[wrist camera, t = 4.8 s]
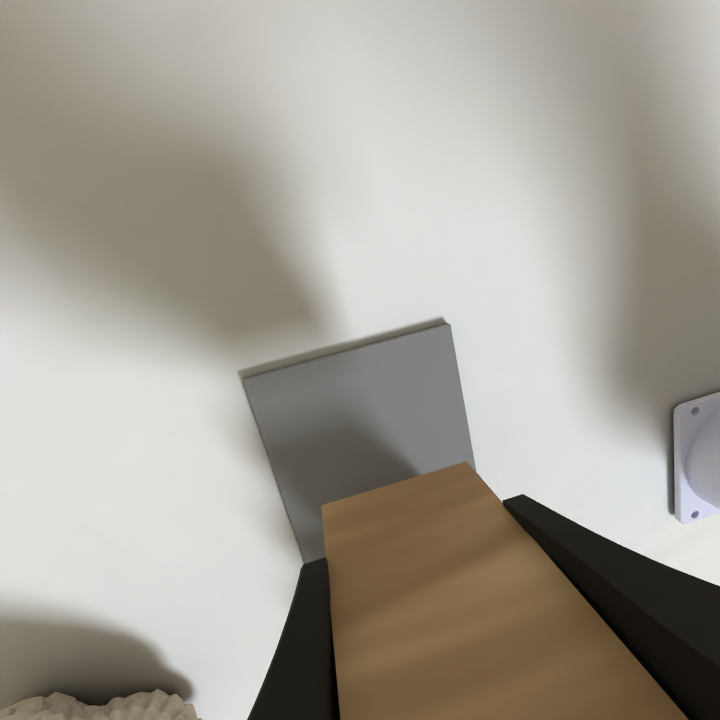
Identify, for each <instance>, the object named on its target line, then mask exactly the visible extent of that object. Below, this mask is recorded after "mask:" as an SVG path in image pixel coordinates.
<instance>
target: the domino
mask: <svg viewBox="0 0 720 720" xmlns="http://www.w3.org/2000/svg"><path fill="white" fill-rule="evenodd" d="M321 509H322V520H323V531H324V542H325V553H326V558H327V562H328V572H329V582H330V593H331V600H330V609H331V620H332V631H333V642H334V653H335V664H336V675H337V686H338V697H339V708H340V719H341V720H689V719H688V718H687V717H686V716H685V715H684V714H683V712H682V711H681V710H680V709H679V708H678V707H677V705H676V704H675V703H674V702H673V701H672V700H671V698H670V697H669V696H668V695H667V694H666V693H665V692H664V690H663V689H662V688H661V687H660V686H659V685H658V683H657V682H656V681H655V680H654V679H653V678H652V676H651V675H650V674H649V673H648V672H647V671H646V669H645V668H644V667H643V666H642V665H641V664H640V662H639V661H638V660H637V659H636V658H635V657H634V655H633V654H632V653H631V652H630V651H629V650H628V648H627V647H626V646H625V645H624V644H623V643H622V641H621V640H620V639H619V638H618V637H617V636H616V634H615V633H614V632H613V631H612V630H611V629H610V628H609V626H608V625H607V624H606V623H605V622H604V621H603V619H602V618H601V617H600V616H599V615H598V614H597V612H596V611H595V610H594V609H593V608H592V607H591V605H590V604H589V603H588V602H587V601H586V600H585V598H584V597H583V596H582V595H581V594H580V593H579V591H578V590H577V589H576V588H575V587H574V586H573V584H572V583H571V582H570V581H569V580H568V579H567V577H566V576H565V575H564V574H563V573H562V572H561V570H560V569H559V568H558V567H557V566H556V565H555V563H554V562H553V561H552V560H551V559H550V558H549V557H548V555H547V554H546V553H545V552H544V551H543V550H542V548H541V547H540V546H539V545H538V544H537V543H536V541H535V540H534V539H533V538H532V537H531V536H530V535H529V534H528V533H527V532H526V531H525V530H524V529H523V528H522V527H521V526H520V525H519V523H518V522H517V521H516V520H515V519H514V518H513V516H512V515H511V514H510V513H509V512H508V511H507V509H506V508H505V507H504V506H503V503H502V502H501V501H500V499H499V498H498V497H497V496H496V495H495V494H494V493H493V491H492V490H491V489H490V488H489V487H488V486H487V484H486V483H485V482H484V481H483V480H482V479H481V477H480V476H479V475H478V474H477V473H476V472H475V470H474V469H473V468H472V467H471V466H470V465H469V463H468V462H467V461H465V462H462V463H459V464H456V465H452V466H449V467H446V468H442V469H439V470H436V471H433V472H429V473H426V474H423V475H420V476H416V477H413V478H410V479H407V480H403V481H400V482H397V483H393V484H390V485H387V486H384V487H380V488H377V489H374V490H371V491H367V492H364V493H361V494H357V495H354V496H351V497H348V498H344V499H341V500H338V501H335V502H331V503H328V504H325V505H322V506H321Z"/></svg>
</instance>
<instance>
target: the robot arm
mask: <svg viewBox="0 0 720 720" xmlns="http://www.w3.org/2000/svg"><path fill="white" fill-rule="evenodd" d="M674 483H675V518H676V519H677V520H678V521H679V522H681V523H683V524H686V523H690V522H693V521H696V520H699V519H702V518H705V517H708V516H711V515H714V514H717V513H719V512H720V392H717V393H714V394H711V395H707V396H704V397H701V398H698V399H694V400H691V401H688V402H685V403H681V404H679V405H678V406H677V407H676V408H675V410H674ZM503 506H504V507H505V508H506V509H507V511H508V512H509V513H510V514H511V515H512V516H513V518H514V519H515V520H516V521H517V522H518V523H519V525H520V526H521V527H522V528H523V529H524V530H525V531H526V532H527V533H528V534H529V535H530V536H531V537H532V538H533V539H534V540H535V541H536V543H537V544H538V545H539V546H540V547H541V548H542V550H543V551H544V552H545V553H546V554H547V555H548V557H549V558H550V559H551V560H552V561H553V562H554V563H555V565H556V566H557V567H558V568H559V569H560V570H561V572H562V573H563V574H564V575H565V576H566V577H567V579H568V580H569V581H570V582H571V583H572V584H573V586H574V587H575V588H576V589H577V590H578V591H579V593H580V594H581V595H582V596H583V597H584V598H585V600H586V601H587V602H588V603H589V604H590V605H591V607H592V608H593V609H594V610H595V611H596V612H597V614H598V615H599V616H600V617H601V618H602V619H603V621H604V622H605V623H606V624H607V625H608V626H609V628H610V629H611V630H612V631H613V632H614V633H615V634H616V636H617V637H618V638H619V639H620V640H621V641H622V643H623V644H624V645H625V646H626V647H627V648H628V650H629V651H630V652H631V653H632V654H633V655H634V657H635V658H636V659H637V660H638V661H639V662H640V664H641V665H642V666H643V667H644V668H645V669H646V671H647V672H648V673H649V674H650V675H651V676H652V678H653V679H654V680H655V681H656V682H657V683H658V685H659V686H660V687H661V688H662V689H663V690H664V692H665V693H666V694H667V695H668V696H669V697H670V698H671V700H672V701H673V702H674V703H675V704H676V705H677V707H678V708H679V709H680V710H681V711H682V712H683V714H684V715H685V716H686V717H687V718H688V719H689V720H720V586H718V585H715V584H712V583H709V582H707V581H704V580H702V579H699V578H696V577H694V576H691V575H689V574H686V573H684V572H681V571H678V570H676V569H673V568H671V567H668V566H666V565H664V564H661V563H659V562H656V561H654V560H652V559H650V558H647V557H645V556H643V555H641V554H639V553H636V552H634V551H632V550H630V549H628V548H625V547H623V546H621V545H619V544H617V543H615V542H613V541H611V540H609V539H607V538H604V537H602V536H600V535H598V534H596V533H594V532H593V531H591V530H589V529H587V528H585V527H583V526H581V525H579V524H577V523H575V522H573V521H571V520H570V519H568V518H566V517H564V516H562V515H560V514H558V513H557V512H555V511H553V510H551V509H549V508H547V507H546V506H544V505H542V504H540V503H538V502H536V501H535V500H533V499H531V498H529V497H527V496H525V495H523V494H522V495H519V496H516V497H512V498H509V499H506V500H503ZM330 600H331V593H330V582H329V572H328V562H327V558H326V557H324V558H321V559H318V560H315V561H312V562H309V563H306V564H304V565H303V566H302V568H301V571H300V575H299V579H298V583H297V587H296V590H295V594H294V597H293V601H292V604H291V607H290V610H289V614H288V617H287V620H286V623H285V626H284V629H283V631H282V634H281V637H280V640H279V643H278V646H277V649H276V651H275V654H274V657H273V659H272V662H271V664H270V667H269V669H268V672H267V674H266V677H265V679H264V682H263V684H262V687H261V689H260V692H259V694H258V696H257V699H256V701H255V703H254V706H253V708H252V710H251V712H250V715H249V717H248V719H247V720H341V719H340V708H339V697H338V686H337V675H336V664H335V653H334V642H333V631H332V620H331V609H330Z"/></svg>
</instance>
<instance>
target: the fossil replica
mask: <svg viewBox="0 0 720 720" xmlns="http://www.w3.org/2000/svg"><path fill="white" fill-rule="evenodd" d="M0 720H202V719H200V718H197V716H196V712H195V709H194V706H193V704H184V701H183V699H182V698H180V697H179V696H178V695H177V694H173V695H170V696H169V695H168V694H167V693H165V692H163V691H161V690H159V689H156V690H155V691H153V692H151V693H148V692H138V693H135V694H132V695H129V696H127V697H126V698H124V697H114V698H113V699H112V700H111V701H110V702H109V703H108V704H107V705H102V706H96V705H86V704H84V703H83V702H81V701H77V699H76V698H75V697H72V696H69V695H65V694H62V693H58V692H54V693H53V694H51V695H50V696H48V697H47V698H46V697H42V696H35V697H31V698H26V699H24V700H21V701H19V702H17V703H15V704H12V705H10V706H8V707H5V708H3V709H1V710H0Z"/></svg>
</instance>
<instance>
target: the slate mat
mask: <svg viewBox="0 0 720 720" xmlns="http://www.w3.org/2000/svg"><path fill="white" fill-rule="evenodd" d="M243 383H244V386H245V389H246V392H247V395H248V398H249V401H250V404H251V407H252V410H253V413H254V416H255V419H256V422H257V424H258V427H259V430H260V433H261V436H262V439H263V442H264V445H265V448H266V451H267V454H268V457H269V460H270V463H271V465H272V468H273V471H274V474H275V477H276V480H277V483H278V486H279V489H280V492H281V495H282V498H283V501H284V504H285V507H286V509H287V512H288V515H289V518H290V521H291V524H292V527H293V530H294V533H295V536H296V539H297V542H298V545H299V548H300V551H301V553H302V556H303V559H304V562H305V564H306V563H309V562H312V561H315V560H318V559H321V558H324V557H326V553H325V542H324V531H323V520H322V509H321V506H322V505H325V504H328V503H331V502H335V501H338V500H341V499H344V498H348V497H351V496H354V495H357V494H361V493H364V492H367V491H371V490H374V489H377V488H380V487H384V486H387V485H390V484H393V483H397V482H400V481H403V480H407V479H410V478H413V477H416V476H420V475H423V474H426V473H429V472H433V471H436V470H439V469H442V468H446V467H449V466H452V465H456V464H459V463H462V462H465V461H467V462H468V463H469V465H470V466H471V467H472V468H473V469H474V470H475V472H476V468H475V462H474V457H473V451H472V445H471V440H470V434H469V428H468V423H467V417H466V411H465V405H464V400H463V394H462V388H461V383H460V377H459V371H458V366H457V360H456V354H455V349H454V343H453V337H452V332H451V326H450V324H448V323H445V324H441V325H438V326H434V327H430V328H427V329H423V330H419V331H416V332H412V333H408V334H404V335H401V336H397V337H393V338H390V339H386V340H382V341H379V342H375V343H371V344H368V345H364V346H360V347H356V348H353V349H349V350H345V351H342V352H338V353H334V354H331V355H327V356H323V357H320V358H316V359H312V360H308V361H305V362H301V363H297V364H294V365H290V366H286V367H283V368H279V369H275V370H272V371H268V372H264V373H260V374H257V375H253V376H249V377H246V378H244V379H243Z"/></svg>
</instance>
